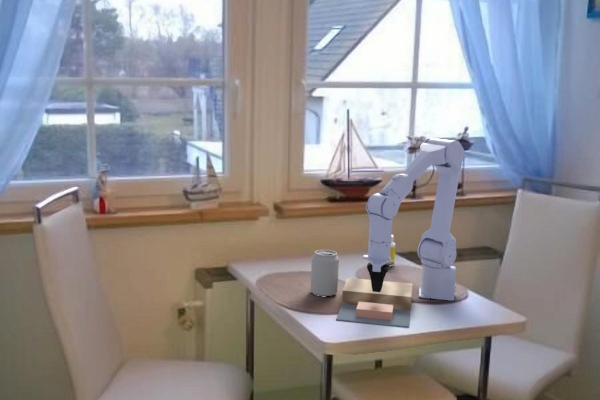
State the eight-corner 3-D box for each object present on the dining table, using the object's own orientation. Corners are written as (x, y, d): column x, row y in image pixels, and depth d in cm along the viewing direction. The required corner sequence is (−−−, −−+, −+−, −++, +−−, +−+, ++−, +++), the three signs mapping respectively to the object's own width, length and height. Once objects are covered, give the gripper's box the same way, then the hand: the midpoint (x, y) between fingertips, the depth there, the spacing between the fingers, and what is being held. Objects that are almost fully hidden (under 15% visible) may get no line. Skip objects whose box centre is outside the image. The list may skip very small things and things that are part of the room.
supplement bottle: (397, 264, 234) (399, 235, 232) (389, 268, 229) (391, 238, 227) (381, 261, 236) (383, 232, 235) (374, 265, 232) (376, 235, 230)
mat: (410, 311, 190) (410, 310, 190) (408, 327, 178) (409, 326, 178) (341, 304, 193) (341, 303, 193) (336, 320, 181) (336, 319, 181)
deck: (411, 297, 201) (412, 283, 201) (410, 311, 190) (411, 296, 189) (346, 291, 204) (347, 277, 204) (341, 304, 193) (342, 290, 192)
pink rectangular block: (392, 312, 182) (391, 320, 182) (393, 304, 187) (392, 312, 188) (356, 308, 183) (355, 316, 183) (358, 301, 189) (358, 308, 189)
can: (328, 299, 196) (330, 257, 194) (305, 294, 200) (307, 252, 198) (342, 293, 203) (344, 251, 200) (319, 287, 206) (321, 246, 204)
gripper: (366, 232, 194) (363, 281, 197) (361, 245, 180) (358, 298, 183) (393, 235, 193) (389, 284, 196) (390, 248, 179) (386, 300, 182)
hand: (376, 291), depth 189 cm, fingers closed
